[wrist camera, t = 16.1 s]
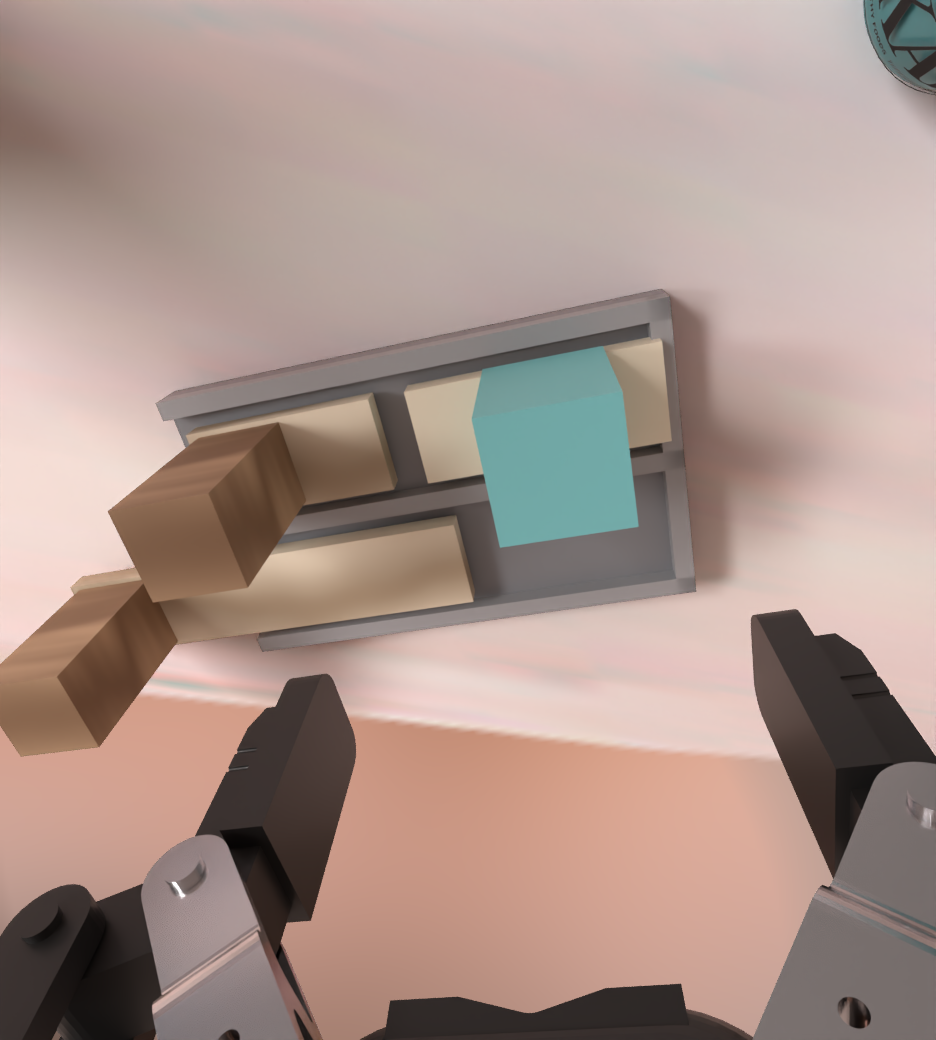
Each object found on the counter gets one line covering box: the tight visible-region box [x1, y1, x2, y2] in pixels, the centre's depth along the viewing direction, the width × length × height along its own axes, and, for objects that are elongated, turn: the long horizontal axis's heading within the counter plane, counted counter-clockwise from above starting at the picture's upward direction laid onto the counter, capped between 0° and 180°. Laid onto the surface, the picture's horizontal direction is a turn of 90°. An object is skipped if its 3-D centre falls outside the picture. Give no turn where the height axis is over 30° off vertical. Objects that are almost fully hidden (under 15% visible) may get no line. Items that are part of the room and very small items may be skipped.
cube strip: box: [0, 515, 475, 756], centre depth 29 cm, size 4×19×8 cm, turn 102°
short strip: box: [108, 392, 398, 603], centre depth 26 cm, size 4×8×8 cm, turn 102°
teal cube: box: [472, 346, 639, 548], centre depth 25 cm, size 5×5×6 cm
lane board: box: [156, 289, 696, 652], centre depth 30 cm, size 13×21×2 cm, turn 102°
